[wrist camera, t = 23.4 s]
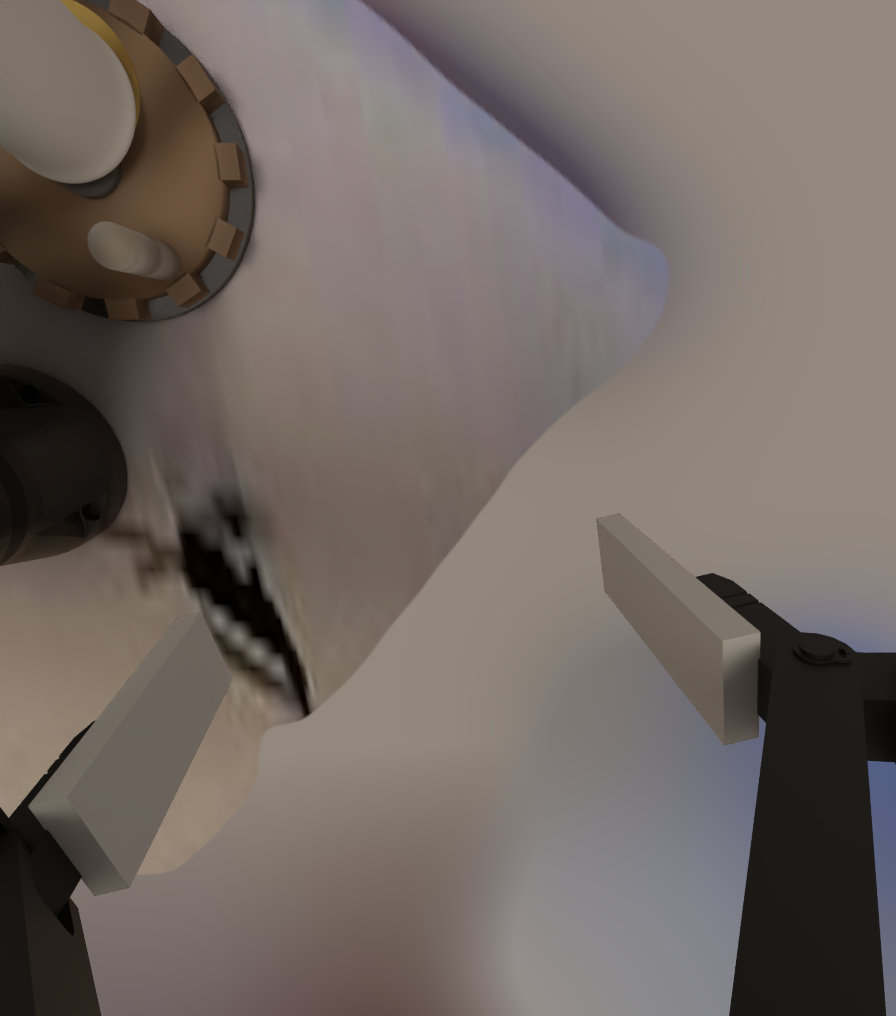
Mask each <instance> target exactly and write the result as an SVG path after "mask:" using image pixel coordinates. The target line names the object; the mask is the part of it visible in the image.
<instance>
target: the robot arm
mask: <svg viewBox="0 0 896 1016" xmlns="http://www.w3.org/2000/svg"><path fill="white" fill-rule="evenodd" d="M126 484H127V474H126V466H125V460H124V457H123V453H122V450H121V447H120V445H119V443H118V440H117V438H116V437H115V435H114V433H113V431H112V429H111V428H110V426H109V425H108V423H107V422H106V421H105V419H104V418H103V417H102V415H101V414H100V413H99V412H98V411H97V410H96V409H95V408H94V407H93V406H92V405H91V404H90V403H89V402H88V401H87V400H86V399H85V398H84V397H82V396H81V395H80V394H79V393H77V392H76V391H75V390H73V389H72V388H70V387H69V386H67V385H65V384H64V383H62V382H60V381H59V380H57V379H55V378H53V377H50V376H48V375H46V374H44V373H41V372H38V371H35V370H32V369H29V368H25V367H21V366H15V365H7V364H0V566H4V565H9V564H14V563H20V562H25V561H30V560H36V559H41V558H47V557H52V556H56V555H59V554H62V553H65V552H68V551H70V550H73V549H75V548H77V547H79V546H80V545H82V544H84V543H85V542H87V541H88V540H90V539H91V538H93V537H94V536H96V535H97V534H99V533H100V532H102V531H103V530H104V529H105V528H106V527H107V526H108V525H109V524H110V523H111V522H112V521H113V519H114V518H115V517H116V515H117V514H118V512H119V510H120V508H121V506H122V503H123V500H124V497H125V492H126ZM596 521H597V529H598V538H599V546H600V554H601V563H602V572H603V580H604V588H605V592H606V593H607V595H608V596H609V597H610V599H611V600H612V601H613V602H614V604H615V605H616V606H617V608H618V609H619V610H620V612H621V613H622V614H623V615H624V617H625V618H626V619H627V620H628V621H629V623H630V624H631V625H632V627H633V628H634V630H635V631H636V632H637V633H638V635H639V636H640V637H641V639H642V640H643V641H644V642H645V644H646V645H647V646H648V648H649V649H650V650H651V651H652V653H653V654H654V655H655V656H656V658H657V659H658V660H659V662H660V663H661V664H662V665H663V667H664V668H665V669H666V671H667V672H668V673H669V675H670V676H671V677H672V678H673V680H674V681H675V682H676V684H677V685H678V686H679V688H680V689H681V690H682V691H683V693H684V694H685V695H686V697H687V698H688V699H689V700H690V702H691V703H692V704H693V706H694V707H695V708H696V710H697V711H698V712H699V713H700V715H701V716H702V717H703V718H704V720H705V721H706V722H707V724H708V725H709V726H710V728H711V729H712V730H713V731H714V733H715V734H716V735H717V737H718V738H719V739H720V740H721V742H722V743H723V744H724V745H728V744H732V743H736V742H741V741H745V740H749V739H753V738H757V737H759V716H760V717H761V718H762V719H763V720H764V721H765V722H766V730H765V737H764V746H763V753H762V762H761V769H760V778H759V785H758V793H757V801H756V809H755V817H754V824H753V833H752V840H751V848H750V857H749V865H748V872H747V880H746V888H745V895H744V903H743V911H742V919H741V927H740V935H739V943H738V951H737V959H736V966H735V975H734V982H733V991H732V998H731V1006H730V1014H729V1016H886V1009H885V1008H886V1007H885V994H884V981H883V966H882V954H881V939H880V926H879V912H878V899H877V885H876V872H875V858H874V846H873V845H874V844H873V832H872V818H871V804H870V790H869V777H868V763H867V761H882V762H895V764H896V653H860V652H855V651H854V650H853V649H852V648H850V647H849V646H848V645H847V644H845V643H843V642H841V641H839V640H837V639H835V638H832V637H829V636H825V635H821V634H817V633H801V632H800V631H798V630H797V629H796V628H794V627H793V626H792V625H790V624H789V623H788V622H786V621H785V620H784V619H782V618H781V617H780V616H778V615H777V614H776V613H774V612H773V611H772V610H770V609H769V608H768V607H767V606H765V605H764V604H762V603H759V601H758V600H757V599H756V598H755V597H753V596H752V595H751V594H747V592H746V591H745V590H744V589H743V588H741V587H740V586H739V585H737V584H736V583H735V582H733V581H732V580H729V579H726V578H724V577H721V576H719V575H716V574H714V573H711V574H707V575H702V576H698V577H694V576H693V575H692V574H691V573H690V572H688V571H687V570H686V569H685V568H684V567H682V566H681V565H680V564H679V563H678V562H677V561H675V560H674V559H673V558H672V557H670V556H669V555H668V554H667V553H666V552H665V551H663V550H662V549H661V548H660V547H659V546H658V545H656V544H655V543H654V542H653V541H652V540H650V539H649V538H648V537H647V536H645V535H644V534H643V533H642V532H641V531H640V530H638V529H637V528H636V527H635V526H634V525H633V524H631V523H630V522H629V521H628V520H627V519H625V518H624V517H623V516H622V515H621V514H619V513H618V514H614V515H610V516H606V517H602V518H597V519H596ZM231 681H232V678H231V676H230V674H229V672H228V669H227V667H226V665H225V663H224V661H223V659H222V657H221V654H220V652H219V650H218V648H217V646H216V644H215V642H214V639H213V637H212V635H211V633H210V631H209V629H208V627H207V625H206V622H205V620H204V618H203V616H202V614H201V612H199V613H195V614H191V615H186V616H182V617H178V618H177V619H176V620H175V621H174V623H173V624H172V625H171V626H170V628H169V629H168V630H167V631H166V633H165V634H164V635H163V637H162V638H161V639H160V640H159V642H158V643H157V644H156V645H155V647H154V648H153V649H152V650H151V652H150V653H149V654H148V655H147V657H146V658H145V659H144V661H143V662H142V663H141V664H140V666H139V667H138V668H137V669H136V671H135V672H134V673H133V674H132V676H131V677H130V678H129V679H128V681H127V682H126V683H125V685H124V686H123V687H122V688H121V690H120V691H119V692H118V693H117V695H116V696H115V697H114V698H113V700H112V701H111V702H110V703H109V705H108V706H107V707H106V709H105V710H104V711H103V712H102V714H101V715H100V716H99V717H98V719H97V720H96V721H93V722H92V723H91V724H90V725H89V726H87V727H86V728H85V729H84V730H83V731H82V732H80V733H79V734H78V735H77V736H76V737H75V738H73V740H72V741H71V742H70V743H69V745H68V746H67V747H66V748H65V750H64V751H63V752H62V753H61V754H60V756H59V759H57V760H56V761H55V762H54V763H53V764H52V766H51V767H50V768H49V769H48V770H47V771H48V773H47V774H44V775H43V777H42V778H41V779H40V780H39V782H38V783H37V784H36V785H35V786H34V788H33V789H32V790H31V791H30V793H29V794H28V795H27V796H26V798H25V799H24V800H23V801H22V802H21V804H20V805H19V806H18V807H17V809H16V810H15V811H14V812H13V814H12V815H11V816H10V817H9V818H8V817H7V815H6V814H5V813H4V811H3V810H2V809H1V807H0V1016H101V1012H100V1007H99V1003H98V998H97V994H96V989H95V984H94V980H93V975H92V970H91V966H90V961H89V957H88V952H87V947H86V943H85V938H84V934H83V929H82V925H81V920H80V916H79V911H78V908H77V906H76V905H75V904H74V902H73V901H72V900H71V898H70V896H71V894H72V893H73V891H74V889H75V887H76V886H77V884H78V882H79V881H80V879H82V880H83V881H84V883H85V884H86V885H87V887H88V888H89V889H90V891H91V892H92V893H93V894H94V896H97V895H101V894H106V893H110V892H114V891H118V890H122V889H126V888H129V887H130V886H131V884H132V881H133V880H134V878H135V876H136V874H137V872H138V870H139V867H140V865H141V863H142V861H143V859H144V857H145V855H146V853H147V851H148V849H149V847H150V845H151V843H152V841H153V839H154V837H155V835H156V833H157V831H158V829H159V827H160V825H161V823H162V821H163V819H164V817H165V815H166V813H167V811H168V809H169V807H170V805H171V803H172V801H173V799H174V797H175V795H176V793H177V790H178V788H179V786H180V784H181V782H182V780H183V778H184V776H185V774H186V772H187V770H188V768H189V766H190V764H191V762H192V760H193V758H194V756H195V754H196V752H197V750H198V748H199V746H200V744H201V742H202V740H203V738H204V736H205V734H206V732H207V730H208V728H209V726H210V724H211V722H212V720H213V718H214V715H215V713H216V711H217V709H218V707H219V705H220V703H221V701H222V699H223V697H224V695H225V693H226V691H227V689H228V687H229V685H230V683H231Z"/></svg>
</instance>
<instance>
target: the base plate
mask: <svg viewBox="0 0 896 1016" xmlns="http://www.w3.org/2000/svg"><path fill="white" fill-rule="evenodd" d="M83 1H84V2H88V3H90V4H93V5H95V6H98V7H100V8H103V9H105V10H107V11H108V9H109V5H110V1H111V0H83ZM159 48H160V49H161V50H162V51H163V52H164V53H165V55H166V56H167V57H168V58H169V59H170V60H171V61H172V62H173V64H174V65H175V66H177V65H179V64H180V63H181V62H183V61H184V60H185V59H186V58H188V57H189V56H190V55H192V53H191V52H190V51H189V50H188V49H187V48H186V47H185V46H184V45H183V44H182V43H181V42H180V41H179V40H178V39H177V38H176V37H174V36H173V35H172V34H171V33H170V32H168V31H167V30H166V29H165V28H164V31H163V34H162V38H161V41H160V44H159ZM196 59H197V58H196ZM197 60H198V59H197ZM200 64H201V63H200ZM203 68H204V67H203ZM204 69H205V68H204ZM205 71H206V70H205ZM206 72H207V71H206ZM207 74H208V72H207ZM208 75H209V74H208ZM209 77H210V79H211V80H212V82H213V83H214V85H215V87H216V88H217V90H218V91H219V93H220V95H221V96H222V98H223V99H224V101H225V102H226V103H224V104H223V105H222V106H220V107H219V108H218V109H216V110H215V111H214V112H212V113H211V114H210V115H211V118H212V120H213V122H214V124H215V127H216V129H217V131H218V133H219V136H220V139H221V143H236V144H237V145H238V146H239V148H240V149H241V150H242V151H243V152H244V155H245V162H246V169H247V176H248V183H249V188H230V208H229V215H228V221H227V223H229V224H230V225H232V226H234V227H235V228H237V229H239V230H240V231H242V232H244V233H245V234H244V237H243V240H242V242H241V245H240V248H239V250H238V253H237V256H236V258H235V261H233V260H231V259H228V258H226V257H224V256H222V255H221V254H219V253H217V252H216V254H215V255H214V257H213V259H212V260H211V262H210V263H209V265H208V266H207V267H206V268H205V269H204V270H203V272H202V273H201V274H200V275H199V277H200V278H201V279H202V281H203V282H204V284H205V285H206V286H207V288H208V289H209V290H210V292H211V293H209V294H208V295H206V296H205V297H204V298H202V299H201V300H199V301H198V302H196V303H195V304H194V305H192V306H191V307H189V308H186V307H178V306H177V304H176V303H175V302H174V301H173V299H172V298H171V297H170V295H167V296H165V297H162V298H157V299H153V300H149V301H148V303H149V307H150V312H151V317H152V320H124V321H136V322H137V321H158V320H164V319H170V318H173V317H177V316H180V315H183V314H186V313H188V312H190V311H192V310H194V309H196V308H198V307H200V306H201V305H203V304H204V303H206V302H207V301H209V300H210V299H211V298H213V297H214V296H215V295H216V294H217V293H218V292H219V291H220V290H221V289H222V288H223V287H224V286H225V285H226V284H227V282H228V281H229V280H230V278H231V277H232V276H233V274H234V273H235V271H236V269H237V268H238V266H239V264H240V262H241V260H242V258H243V256H244V253H245V250H246V248H247V245H248V243H249V238H250V234H251V230H252V225H253V216H254V207H255V204H254V181H253V174H252V166H251V162H250V158H249V154H248V150H247V146H246V143H245V140H244V137H243V135H242V132H241V129H240V126H239V124H238V122H237V120H236V118H235V116H234V114H233V111H232V109H231V107H230V105H229V103H228V102H227V100H226V99H225V97H224V95H223V94H222V92H221V90H220V89H219V87H218V86H217V84H216V83H215V81H214V80H213V79H212V77H211V76H210V75H209ZM13 264H14V265H15V266H16V267H17V268H18V269H19V270H20V271H21V272H22V273H23V274H24V275H26V276H27V277H28V278H29V279H31V280H32V281H33V282H34V283H36V280H37V276H38V275H36V274H35V273H34V272H32V271H31V270H29V269H28V268H27V267H25V266H24V265H22V264H21V263H20V262H19V261H18V260H17V261H15V262H14V263H13ZM81 310H83V311H86V312H88V313H91V314H94V315H97V316H102V317H106V318H109V316H108V312H107V308H106V304H105V300H103V299H97V298H92V297H87V296H85V298H84V301H83V305H82V308H81Z"/></svg>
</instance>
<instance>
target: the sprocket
mask: <svg viewBox="0 0 896 1016" xmlns="http://www.w3.org/2000/svg"><path fill="white" fill-rule="evenodd" d="M60 1H61V2H62V3H63V4H64V5H65V6H66V7H67V8H68V9H69V10H70V11H71V12H72V13H73V14H74V15H75V17H76V18H77V19H78V20H79V21H80V22H81V23H82V24H83V25H85V26H86V27H88V28H89V29H91V30H92V31H93V32H95V33H96V34H97V35H98V36H99V37H101V38H102V39H103V40H104V41H105V42H106V43H107V45H108V46H109V47H110V48H111V49H112V50H113V52H114V53H115V54H116V56H117V57H118V59H119V60H120V62H121V64H122V65H123V67H124V69H125V71H126V73H127V76H128V78H129V81H130V83H131V86H132V90H133V94H134V99H135V106H136V124H135V131H134V136H133V139H132V142H131V145H130V147H129V149H128V151H127V153H126V155H125V157H124V158H123V160H122V161H121V162H120V163H119V164H118V166H117V167H116V168H114V169H113V170H112V171H111V172H110V173H108V174H107V175H105V176H103V177H101V178H99V179H97V180H94V181H91V182H87V183H79V184H70V183H62V182H58V181H54V180H51V179H48V178H46V177H43V176H41V175H39V174H37V173H36V172H34V171H32V170H31V169H29V168H28V167H26V166H25V165H24V164H23V163H21V162H20V161H19V160H18V159H17V158H16V157H15V156H14V155H12V154H11V153H9V152H8V151H6V150H5V149H3V148H1V147H0V262H1V263H7V264H13V263H14V262H15V261H17V260H18V261H19V262H20V263H21V264H22V265H24V266H25V267H27V268H28V269H29V270H31V271H32V272H34V273H35V274H36V275H38V276H37V280H36V284H35V287H34V291H33V294H35V295H37V296H39V297H41V298H43V299H45V300H47V301H49V302H51V303H53V304H55V305H57V306H59V307H61V308H63V309H72V310H81V308H82V305H83V301H84V298H85V296H87V297H92V298H97V299H103V300H105V304H106V308H107V312H108V316H109V320H152V317H151V312H150V307H149V303H148V301H149V300H153V299H157V298H162V297H165V296H167V295H170V297H171V298H172V299H173V301H174V302H175V303H176V304H177V306H178V307H186V308H189V307H191V306H192V305H194V304H195V303H196V302H198V301H199V300H201V299H202V298H204V297H205V296H206V295H208V294H209V293H211V292H210V290H209V289H208V288H207V286H206V285H205V284H204V282H203V281H202V279H201V278H200V277H199V275H200V274H201V273H202V272H203V270H204V269H205V268H206V267H207V266H208V265H209V263H210V262H211V260H212V259H213V257H214V255H215V254H216V252H217V253H219V254H221V255H222V256H224V257H226V258H228V259H231V260H233V261H235V258H236V256H237V253H238V250H239V248H240V245H241V242H242V240H243V237H244V234H245V233H244V232H242V231H240V230H239V229H237V228H235V227H234V226H232V225H230V224H229V223H227V221H228V215H229V208H230V188H249V183H248V176H247V169H246V162H245V155H244V152H243V151H242V150H241V149H240V148H239V146H238V145H237V144H236V143H221V139H220V136H219V133H218V131H217V129H216V127H215V124H214V122H213V120H212V118H211V115H210V114H211V113H212V112H214V111H215V110H216V109H218V108H219V107H220V106H222V105H223V104H224V103H226V102H225V101H224V99H223V98H222V96H221V95H220V93H219V91H218V90H217V88H216V87H215V85H214V83H213V82H212V80H211V79H210V77H209V75H208V74H207V72H206V71H205V69H204V68H203V66H202V65H201V64H200V62H199V61H198V60H197V59H196V57H195V56H194V55H193V54H192V55H190V56H189V57H188V58H186V59H185V60H184V61H183V62H181V63H180V64H179V65H177V66H175V65H174V64H173V62H172V61H171V60H170V59H169V58H168V57H167V56H166V55H165V53H164V52H163V51H162V50H161V49H160V48H159V44H160V41H161V38H162V34H163V31H164V27H163V25H162V24H161V23H160V22H159V20H158V19H157V18H156V16H155V15H154V14H153V13H152V11H151V10H150V9H148V8H147V7H145V6H144V5H142V4H141V3H139V2H138V1H136V0H111V1H110V5H109V9H108V11H107V10H105V9H103V8H100V7H98V6H95V5H93V4H90V3H88V2H84V1H83V0H60Z"/></svg>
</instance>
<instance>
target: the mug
mask: <svg viewBox="0 0 896 1016" xmlns="http://www.w3.org/2000/svg"><path fill="white" fill-rule="evenodd" d="M135 124H136V106H135V99H134V94H133V90H132V86H131V83H130V81H129V78H128V76H127V73H126V71H125V69H124V67H123V65H122V64H121V62H120V60H119V59H118V57H117V56H116V54H115V53H114V52H113V50H112V49H111V48H110V47H109V46H108V45H107V43H106V42H105V41H104V40H103V39H102V38H101V37H99V36H98V35H97V34H96V33H95V32H93V31H92V30H91V29H89V28H88V27H86V26H85V25H83V24H82V23H81V22H80V21H79V20H78V19H77V18H76V17H75V15H74V14H73V13H72V12H71V11H70V10H69V9H68V8H67V7H66V6H65V5H64V4H63V3H62V2H61V1H60V0H0V147H1V148H3V149H5V150H6V151H8V152H9V153H11V154H12V155H14V156H15V157H16V158H17V159H18V160H19V161H20V162H21V163H23V164H24V165H25V166H26V167H28V168H29V169H31V170H32V171H34V172H36V173H37V174H39V175H41V176H43V177H46V178H48V179H51V180H54V181H58V182H62V183H70V184H79V183H87V182H91V181H94V180H97V179H99V178H101V177H103V176H105V175H107V174H108V173H110V172H111V171H112V170H113V169H114V168H116V167H117V166H118V164H119V163H120V162H121V161H122V160H123V158H124V157H125V155H126V153H127V151H128V149H129V147H130V145H131V142H132V139H133V136H134V131H135Z"/></svg>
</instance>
